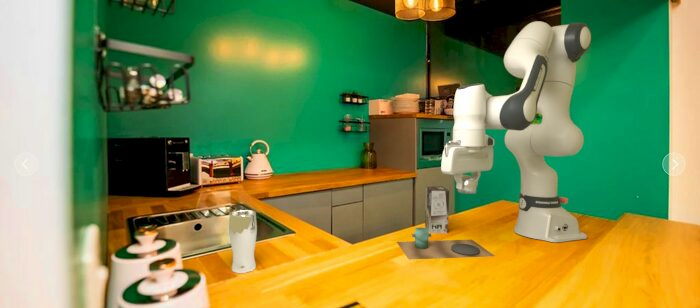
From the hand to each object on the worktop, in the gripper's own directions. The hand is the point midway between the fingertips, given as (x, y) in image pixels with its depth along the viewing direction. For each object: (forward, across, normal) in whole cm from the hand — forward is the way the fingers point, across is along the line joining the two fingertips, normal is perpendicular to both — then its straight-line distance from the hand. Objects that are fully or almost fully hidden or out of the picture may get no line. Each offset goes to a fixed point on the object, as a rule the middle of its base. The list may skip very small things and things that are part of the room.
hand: (467, 187), depth 95 cm
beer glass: (+20, -56, +28) cm, 66 cm away
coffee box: (+20, +10, +19) cm, 29 cm away
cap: (+1, 0, 0) cm, 1 cm away
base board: (+20, -4, +5) cm, 21 cm away
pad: (+19, 0, 0) cm, 19 cm away
